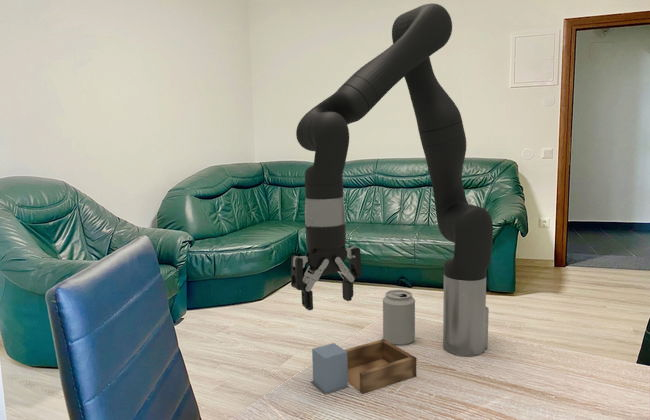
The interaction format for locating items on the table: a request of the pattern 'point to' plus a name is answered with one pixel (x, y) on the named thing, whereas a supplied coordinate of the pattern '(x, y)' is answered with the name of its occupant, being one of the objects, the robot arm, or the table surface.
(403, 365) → the crate
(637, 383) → the table surface
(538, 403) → the table surface
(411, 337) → the can
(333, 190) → the robot arm
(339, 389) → the coaster
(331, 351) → the block
